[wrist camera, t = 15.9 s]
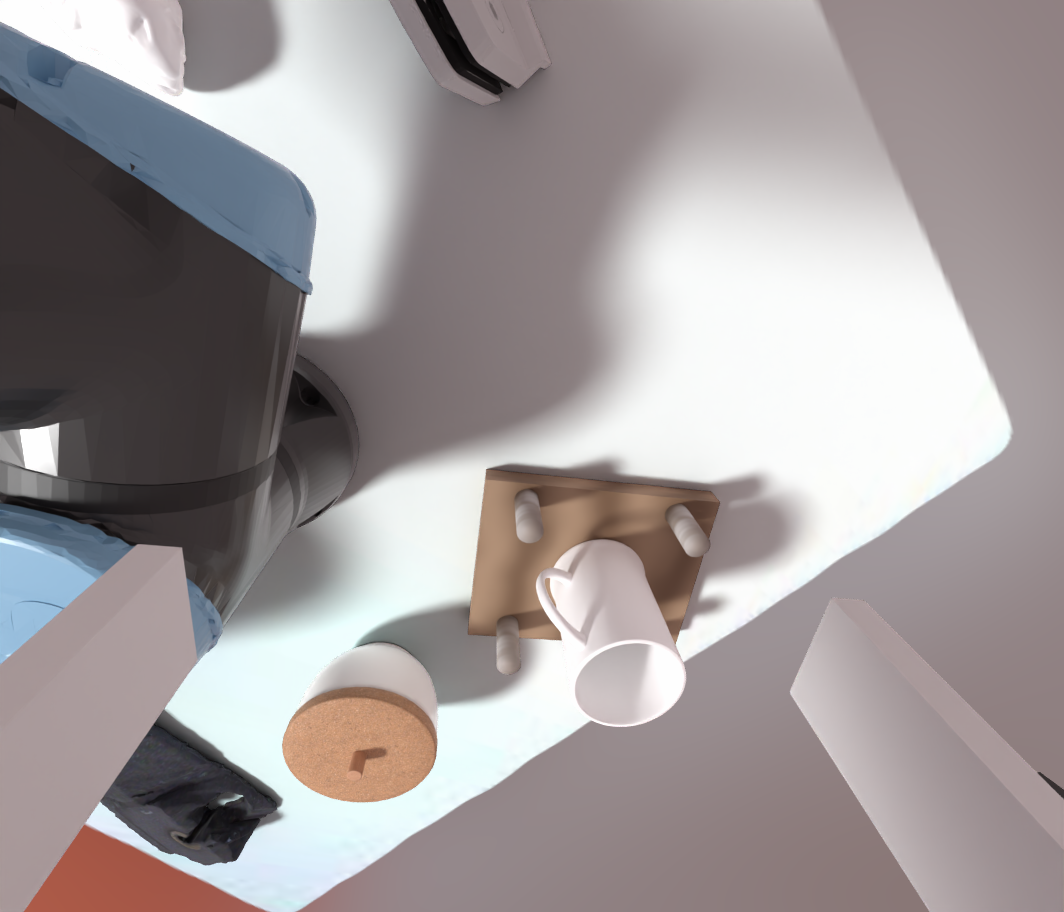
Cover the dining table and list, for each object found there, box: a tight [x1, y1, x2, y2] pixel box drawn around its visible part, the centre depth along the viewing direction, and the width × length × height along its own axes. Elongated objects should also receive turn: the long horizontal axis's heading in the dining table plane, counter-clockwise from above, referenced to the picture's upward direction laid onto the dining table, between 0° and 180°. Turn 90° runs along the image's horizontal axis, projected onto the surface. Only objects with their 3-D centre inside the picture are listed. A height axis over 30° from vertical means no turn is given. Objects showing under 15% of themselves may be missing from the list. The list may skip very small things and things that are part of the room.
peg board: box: [468, 469, 720, 674], centre depth 45 cm, size 20×16×7 cm
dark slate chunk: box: [100, 725, 277, 865], centre depth 54 cm, size 15×22×5 cm
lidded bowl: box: [282, 642, 438, 802], centre depth 47 cm, size 13×13×11 cm
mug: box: [536, 539, 686, 727], centre depth 41 cm, size 12×8×12 cm
